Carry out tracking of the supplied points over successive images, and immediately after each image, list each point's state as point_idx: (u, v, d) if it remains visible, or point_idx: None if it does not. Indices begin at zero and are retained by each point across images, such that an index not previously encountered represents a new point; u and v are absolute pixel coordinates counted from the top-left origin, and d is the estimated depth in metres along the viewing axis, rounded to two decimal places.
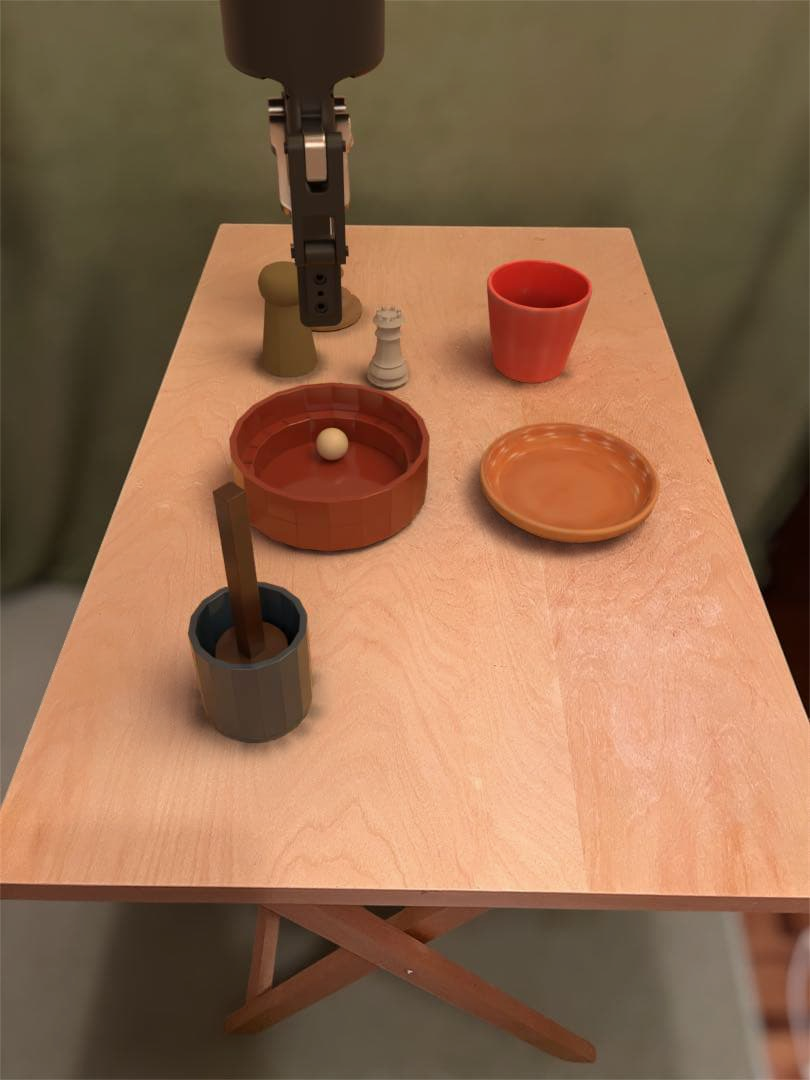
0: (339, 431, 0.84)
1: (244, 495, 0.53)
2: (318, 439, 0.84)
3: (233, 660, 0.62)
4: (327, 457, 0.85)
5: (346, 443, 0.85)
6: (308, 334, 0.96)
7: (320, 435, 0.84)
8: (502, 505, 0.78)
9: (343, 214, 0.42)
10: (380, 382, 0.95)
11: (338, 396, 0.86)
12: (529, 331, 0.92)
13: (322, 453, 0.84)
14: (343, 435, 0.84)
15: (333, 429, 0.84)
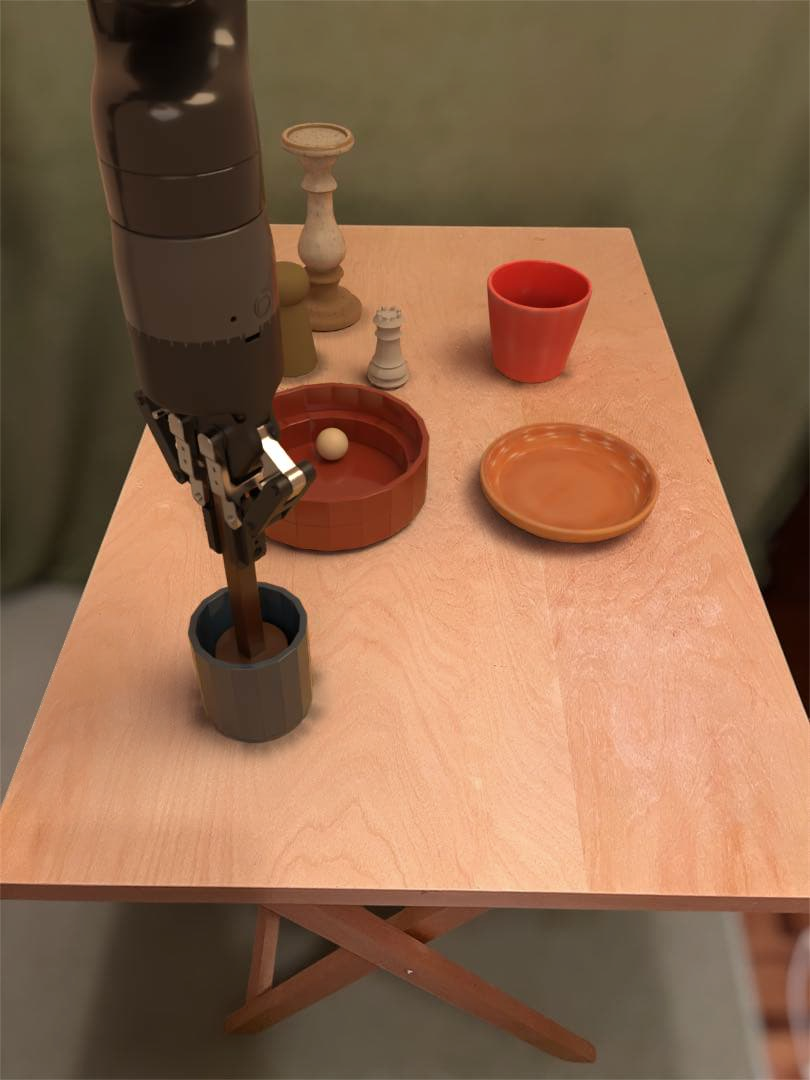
0: (339, 431, 0.84)
1: (244, 495, 0.53)
2: (318, 439, 0.84)
3: (233, 660, 0.62)
4: (327, 457, 0.85)
5: (346, 443, 0.85)
6: (308, 334, 0.96)
7: (320, 435, 0.84)
8: (502, 505, 0.78)
9: (298, 501, 0.50)
10: (380, 382, 0.95)
11: (338, 396, 0.86)
12: (529, 331, 0.92)
13: (322, 453, 0.84)
14: (343, 435, 0.84)
15: (333, 429, 0.84)
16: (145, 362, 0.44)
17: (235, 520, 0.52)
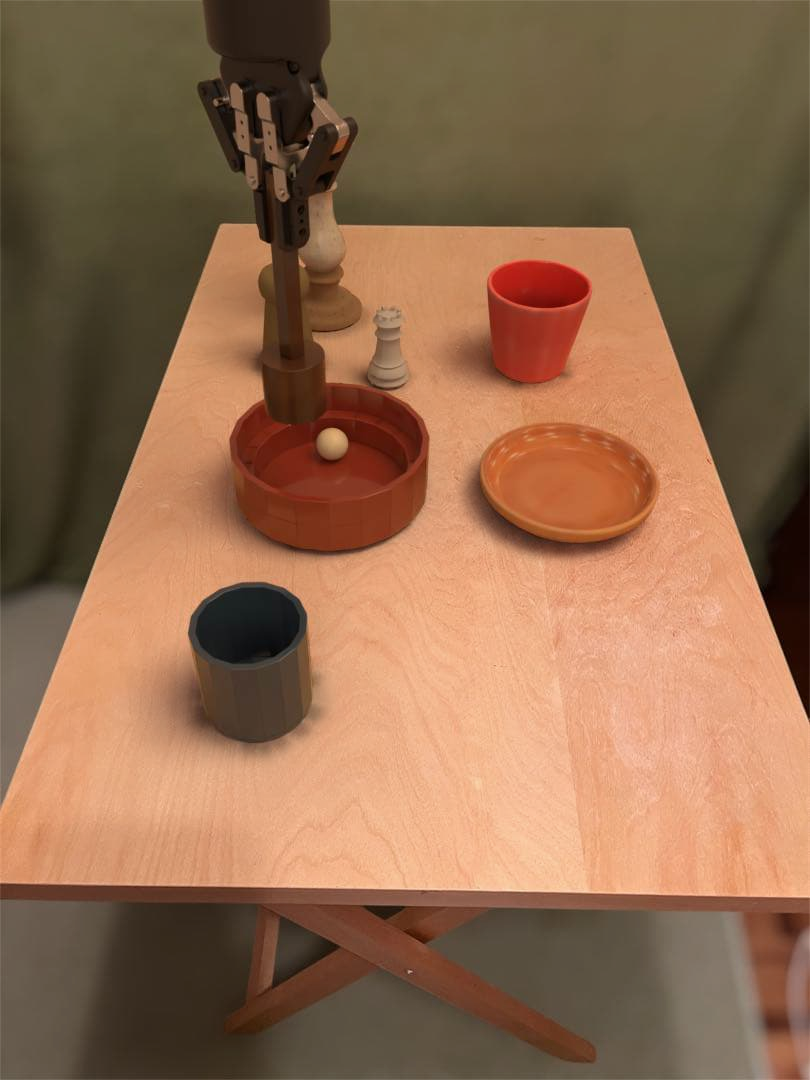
0: (339, 431, 0.84)
1: (292, 176, 0.61)
2: (318, 439, 0.84)
3: (276, 361, 0.70)
4: (327, 457, 0.85)
5: (346, 443, 0.85)
6: (308, 334, 0.96)
7: (320, 435, 0.84)
8: (502, 505, 0.78)
9: (340, 167, 0.59)
10: (380, 382, 0.95)
11: (338, 396, 0.86)
12: (529, 331, 0.92)
13: (322, 453, 0.84)
14: (343, 435, 0.84)
15: (333, 429, 0.84)
16: (217, 8, 0.52)
17: (285, 190, 0.60)
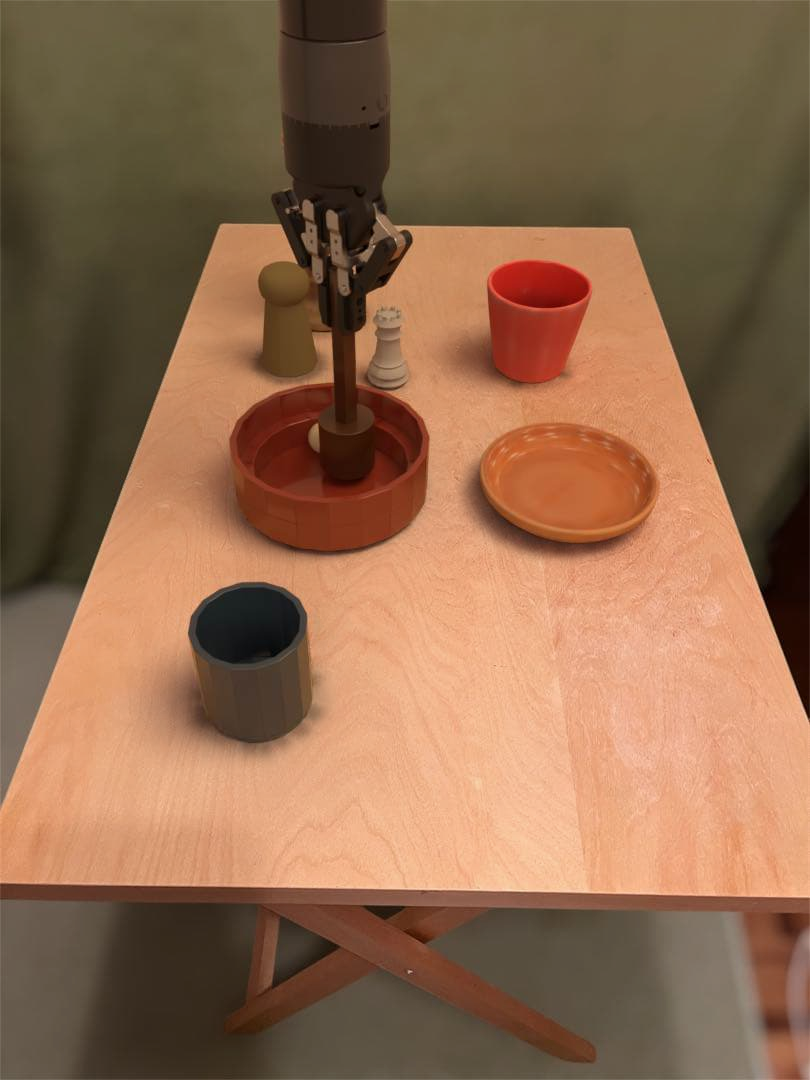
0: None
1: (352, 273, 0.71)
2: (308, 435, 0.86)
3: (333, 425, 0.80)
4: (319, 445, 0.85)
5: None
6: (308, 334, 0.96)
7: (309, 432, 0.86)
8: (502, 505, 0.78)
9: (395, 268, 0.68)
10: (380, 382, 0.95)
11: None
12: (529, 331, 0.92)
13: (313, 443, 0.85)
14: None
15: None
16: (297, 145, 0.62)
17: (347, 287, 0.70)
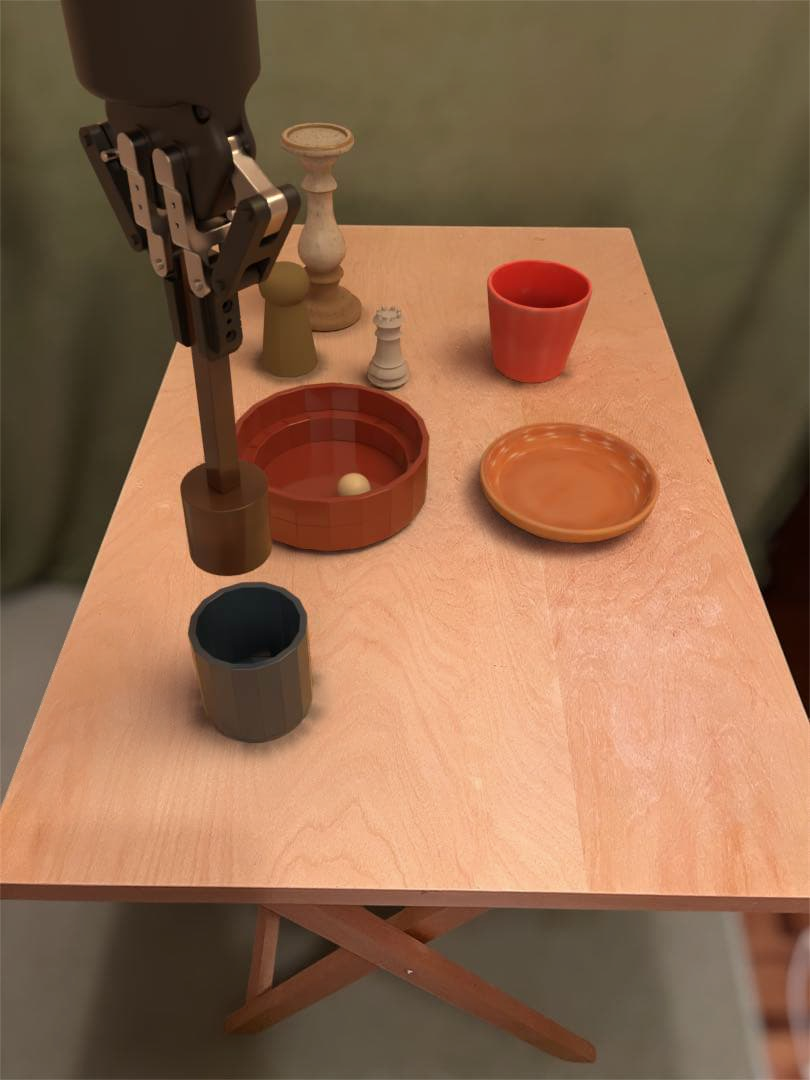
0: None
1: None
2: None
3: (202, 495, 0.52)
4: (338, 496, 0.80)
5: (348, 474, 0.80)
6: (308, 334, 0.96)
7: None
8: (502, 505, 0.78)
9: (279, 251, 0.41)
10: (380, 382, 0.95)
11: (338, 396, 0.86)
12: (529, 331, 0.92)
13: None
14: None
15: None
16: (80, 26, 0.34)
17: (202, 282, 0.42)
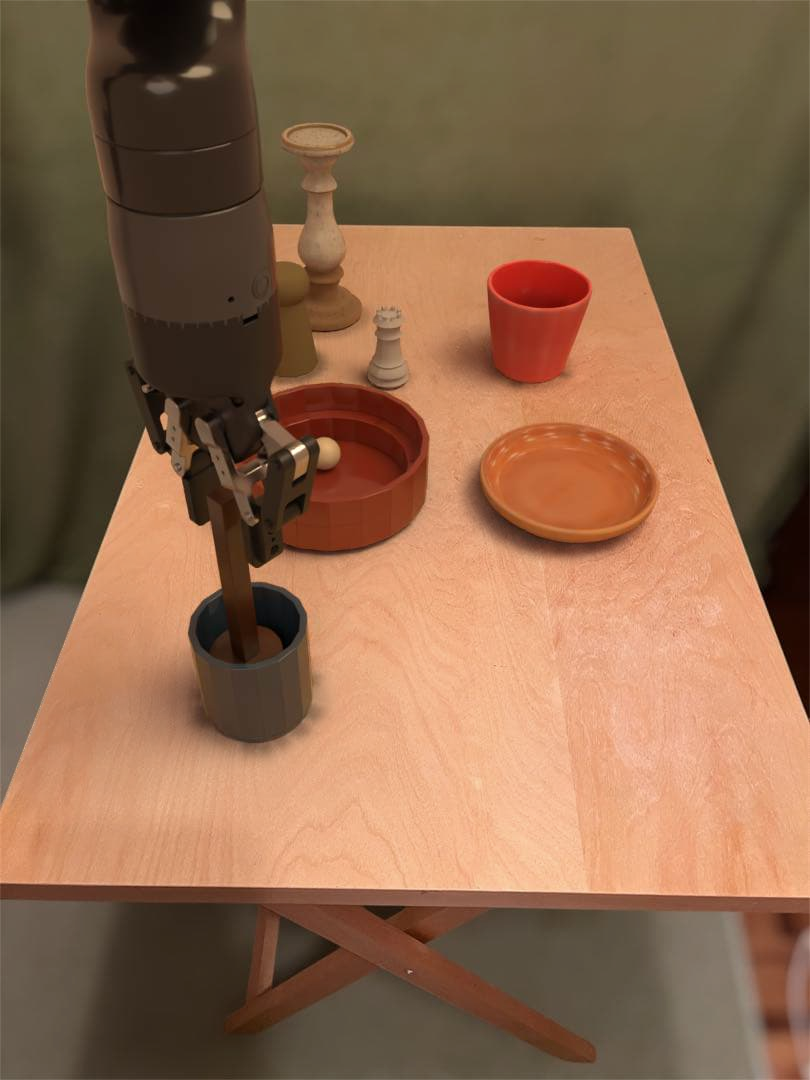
0: (338, 450, 0.84)
1: None
2: (321, 437, 0.84)
3: None
4: None
5: (332, 461, 0.83)
6: (308, 334, 0.96)
7: (325, 437, 0.84)
8: (502, 505, 0.78)
9: (311, 487, 0.49)
10: (380, 382, 0.95)
11: (338, 396, 0.86)
12: (529, 331, 0.92)
13: None
14: (337, 455, 0.83)
15: (337, 445, 0.84)
16: (142, 344, 0.43)
17: (252, 516, 0.50)
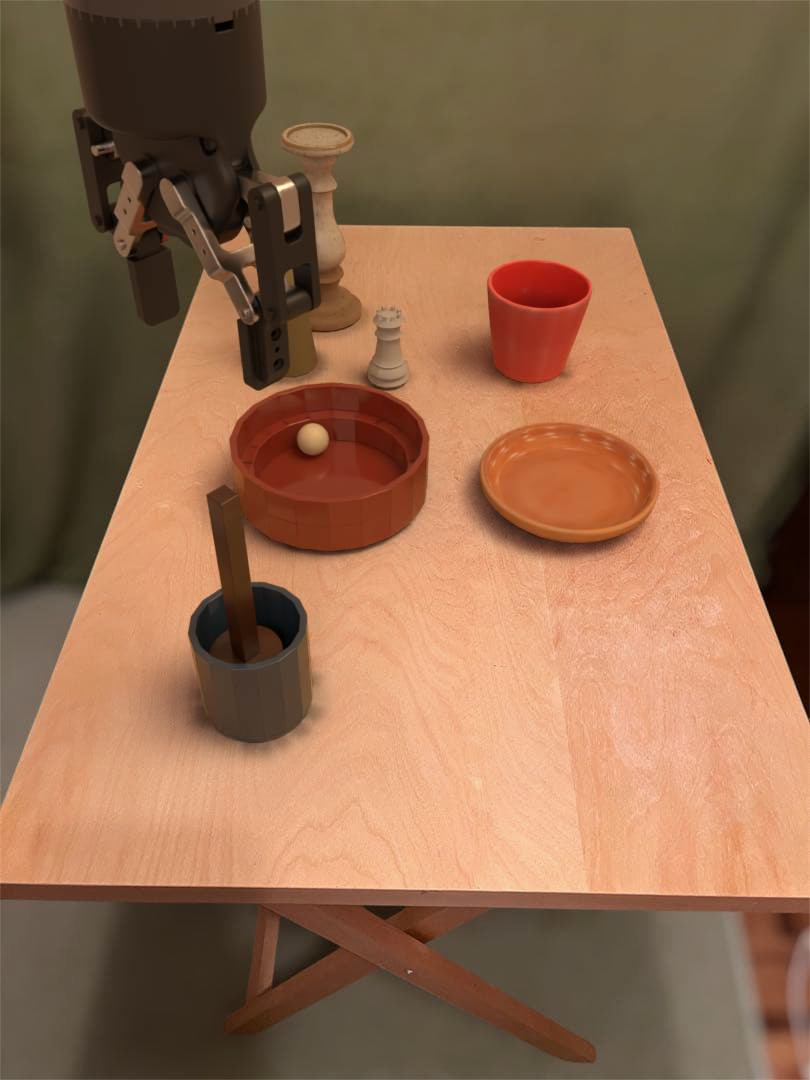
0: None
1: (238, 499, 0.53)
2: None
3: None
4: (297, 441, 0.86)
5: (311, 425, 0.85)
6: (308, 334, 0.96)
7: None
8: (502, 505, 0.78)
9: (316, 256, 0.39)
10: (380, 382, 0.95)
11: (338, 396, 0.86)
12: (529, 331, 0.92)
13: None
14: (317, 424, 0.85)
15: None
16: (90, 61, 0.35)
17: (252, 310, 0.40)
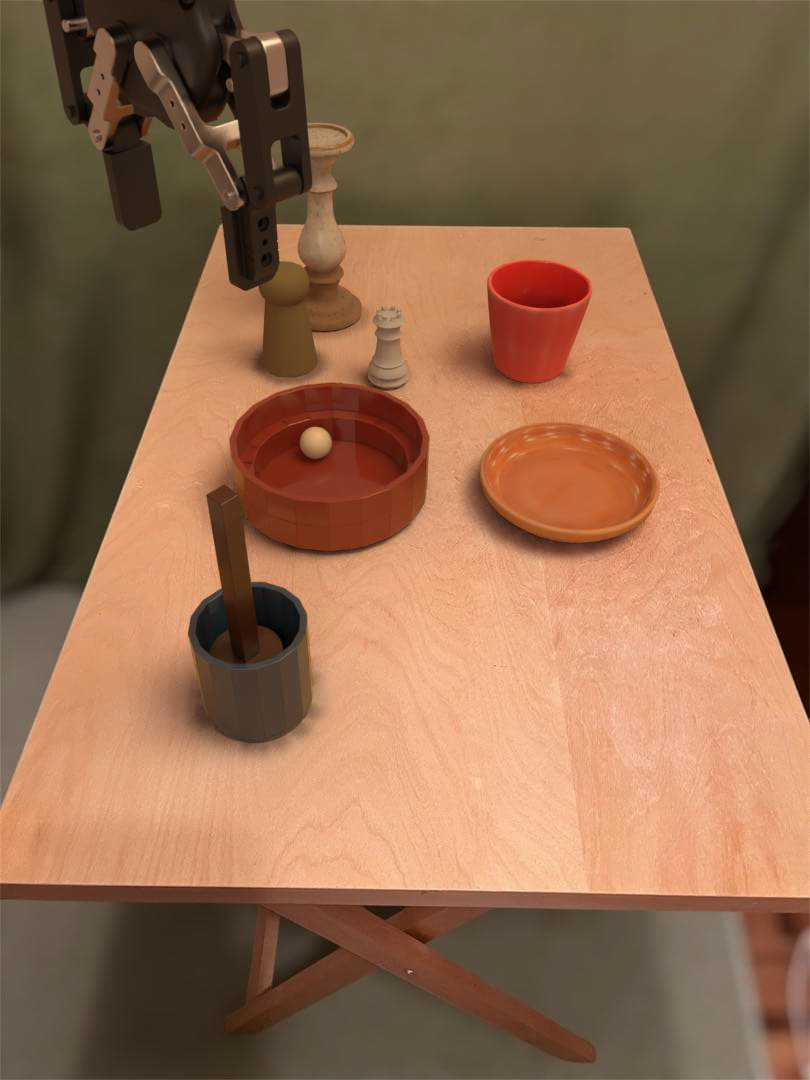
0: (324, 430, 0.85)
1: (238, 499, 0.53)
2: None
3: None
4: None
5: (317, 432, 0.84)
6: (308, 334, 0.96)
7: None
8: (502, 505, 0.78)
9: (306, 129, 0.35)
10: (380, 382, 0.95)
11: (338, 396, 0.86)
12: (529, 331, 0.92)
13: None
14: (322, 429, 0.85)
15: None
16: None
17: (236, 192, 0.37)
